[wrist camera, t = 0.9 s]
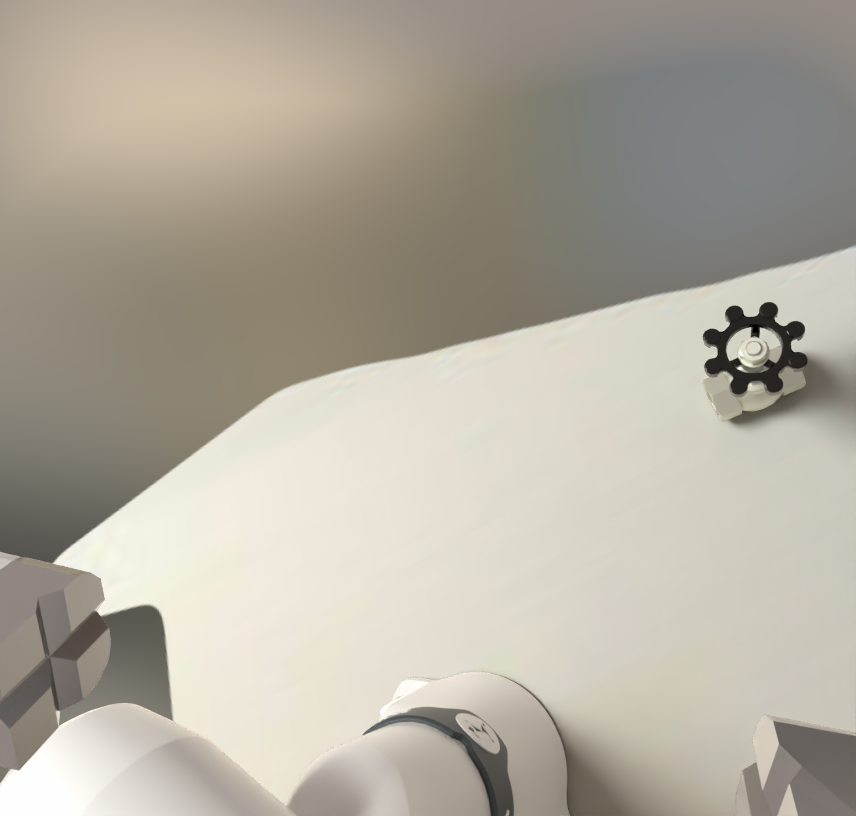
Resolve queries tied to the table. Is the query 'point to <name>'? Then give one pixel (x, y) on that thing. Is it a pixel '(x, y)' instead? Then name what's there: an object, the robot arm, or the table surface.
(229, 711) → the table surface
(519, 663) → the table surface
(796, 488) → the table surface
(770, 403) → the valve
